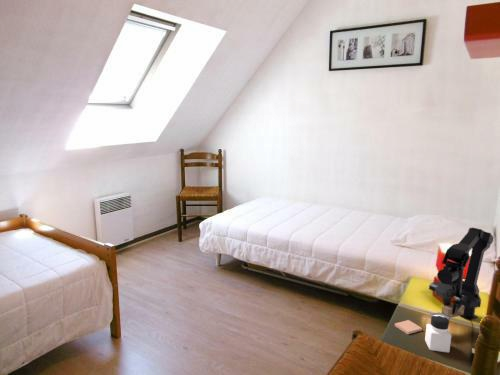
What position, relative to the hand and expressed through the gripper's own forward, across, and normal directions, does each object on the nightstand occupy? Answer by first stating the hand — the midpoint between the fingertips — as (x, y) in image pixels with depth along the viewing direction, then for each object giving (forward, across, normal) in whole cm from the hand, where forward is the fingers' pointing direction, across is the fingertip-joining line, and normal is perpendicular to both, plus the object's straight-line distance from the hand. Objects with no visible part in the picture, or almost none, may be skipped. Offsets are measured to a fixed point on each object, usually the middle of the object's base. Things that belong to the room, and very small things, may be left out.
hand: (450, 313), depth 154 cm
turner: (+1, 0, -2) cm, 2 cm away
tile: (+7, -7, -12) cm, 15 cm away
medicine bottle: (+8, +7, -16) cm, 19 cm away
